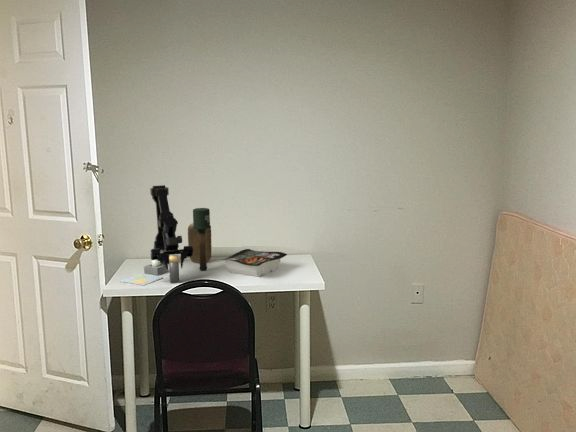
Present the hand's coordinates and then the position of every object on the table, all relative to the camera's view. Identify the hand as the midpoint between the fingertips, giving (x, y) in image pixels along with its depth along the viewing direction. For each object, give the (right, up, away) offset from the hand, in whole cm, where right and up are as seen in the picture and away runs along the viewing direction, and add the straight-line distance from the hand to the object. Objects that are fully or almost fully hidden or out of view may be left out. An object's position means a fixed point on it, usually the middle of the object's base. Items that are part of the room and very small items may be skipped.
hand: (174, 268), depth 268 cm
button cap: (-12, -2, +18) cm, 22 cm away
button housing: (-12, -3, +19) cm, 22 cm away
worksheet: (-16, -6, +6) cm, 18 cm away
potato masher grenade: (+10, -3, +22) cm, 24 cm away
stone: (+6, 0, +38) cm, 39 cm away
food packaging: (+34, -3, +21) cm, 40 cm away
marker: (0, -6, +2) cm, 7 cm away
